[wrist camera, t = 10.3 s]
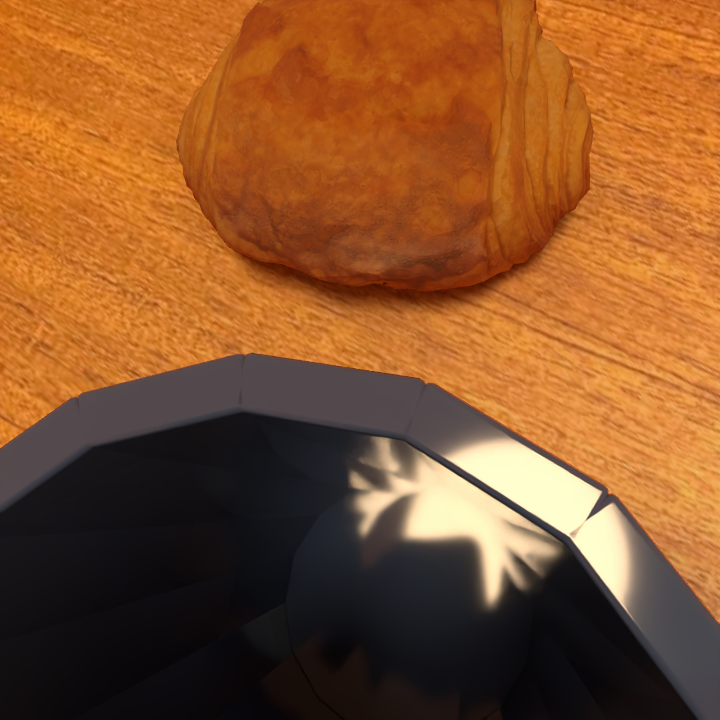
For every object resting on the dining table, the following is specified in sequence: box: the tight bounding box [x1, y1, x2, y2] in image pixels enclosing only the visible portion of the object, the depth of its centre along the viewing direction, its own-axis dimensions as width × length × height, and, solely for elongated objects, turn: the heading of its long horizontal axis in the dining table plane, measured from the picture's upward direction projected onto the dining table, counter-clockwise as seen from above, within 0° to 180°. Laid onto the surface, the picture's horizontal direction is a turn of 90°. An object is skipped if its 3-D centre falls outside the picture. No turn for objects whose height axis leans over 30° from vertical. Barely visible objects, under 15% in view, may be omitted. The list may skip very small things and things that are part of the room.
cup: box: [0, 353, 720, 720], centre depth 9 cm, size 7×7×12 cm
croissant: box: [176, 0, 593, 292], centre depth 22 cm, size 14×16×8 cm
